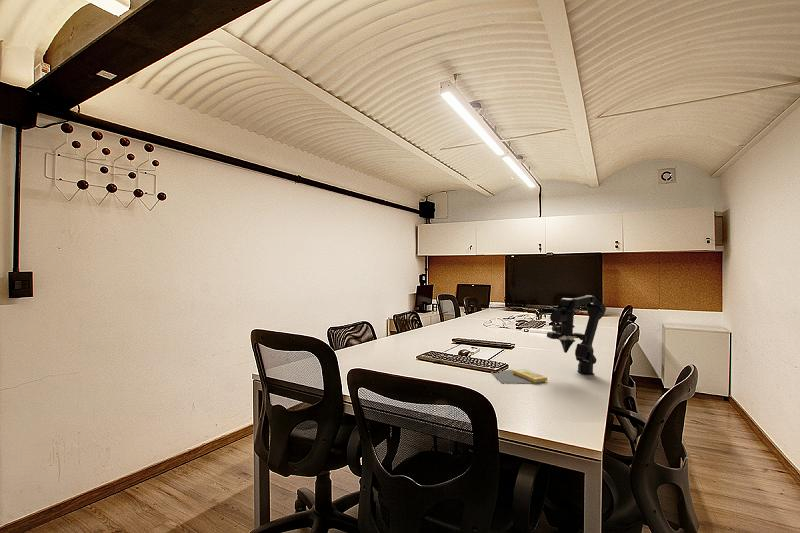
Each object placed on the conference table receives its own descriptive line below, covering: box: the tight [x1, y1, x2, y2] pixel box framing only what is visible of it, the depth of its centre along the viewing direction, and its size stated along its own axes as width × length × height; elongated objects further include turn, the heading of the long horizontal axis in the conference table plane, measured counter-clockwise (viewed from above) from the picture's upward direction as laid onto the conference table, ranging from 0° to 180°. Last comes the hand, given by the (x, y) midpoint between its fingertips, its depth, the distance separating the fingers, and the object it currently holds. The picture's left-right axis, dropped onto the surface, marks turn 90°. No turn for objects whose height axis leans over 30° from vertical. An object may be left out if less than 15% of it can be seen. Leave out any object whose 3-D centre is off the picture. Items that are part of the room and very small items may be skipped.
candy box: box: [512, 368, 548, 383], centre depth 198 cm, size 16×2×8 cm
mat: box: [490, 369, 542, 385], centre depth 200 cm, size 20×22×1 cm
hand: (565, 352), depth 201 cm, fingers closed
